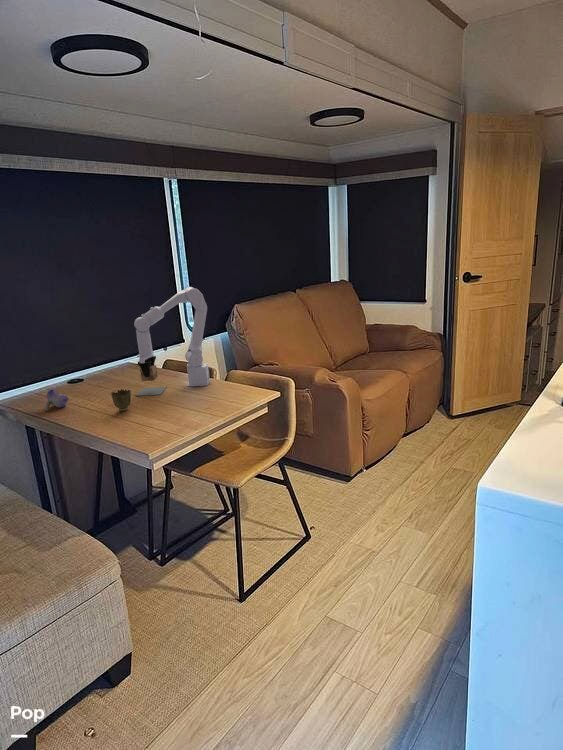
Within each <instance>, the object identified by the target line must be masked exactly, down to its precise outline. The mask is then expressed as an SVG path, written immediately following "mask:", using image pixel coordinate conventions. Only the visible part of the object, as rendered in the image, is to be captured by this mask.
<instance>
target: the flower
mask: <svg viewBox="0 0 563 750" xmlns="http://www.w3.org/2000/svg"><path fill="white" fill-rule="evenodd" d="M46 399H47V402H46V404H45V410H46V412H47V411H48V410H49V409H50V406H51V405H52V406H54V407H56V408H59V409H62V408H65V407H66V406H67V403H68V401H69V397H68V396H67V395H66V394H62V393H59V390H54V388H53V387H51V388H50V390H48V391H47V392H46ZM61 407H62V408H61ZM49 411H50V410H49Z"/></svg>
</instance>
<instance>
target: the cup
mask: <svg viewBox="0 0 563 750" xmlns="http://www.w3.org/2000/svg"><path fill="white" fill-rule="evenodd" d="M110 395H111V399H112V403H113V405H114V406H115V407H116V408H117V409H118V411H119V412H121V413H124V412H126V411H128V410H129V406H130V405H131V401H132V399H131V398H132V396H131V390H130V389H125V390H124V389H123V388H122V389H118V390H117V392H115V391H112V392H111V393H110Z"/></svg>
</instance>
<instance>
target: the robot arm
mask: <svg viewBox="0 0 563 750" xmlns="http://www.w3.org/2000/svg"><path fill="white" fill-rule="evenodd" d="M188 302H189V303H190V304H191V306H192V307H193V308H194V309H195V313H194V318H193V325H192V331H191V339H190V343H189V345H188V348H187V350H186V352H185V355H184V357H185V360H186V361H187V364H186V370H187V379H188V380H187V381H188V383H187V385H186V387H189V388H190V387H207V386H208V385H209V383H210V382H211V379H210V371H209V366H208V364H203V361H204V358H203V348H202V345H203V339H204V332H205V327H206V321H207V320H206V319H207V314H208V313H207V312H208V305H207V302H206V300H205V298H204V294H203V293H202V292H201V291H200V290H199V289H198V288H196V287H195V288H194V287H193V286H187V287H185V288H184V289H182V290H180V291H178V292H177V293H176V294H174V295H173V296H172V297H171V298H169V299H168V300H167V301H165V302H164V303H162V305H160V306H154V307H153V306H151V307H150V308H149V310H148V311H147V312H145V313H142V314H141V315H140V317H139V316H138V317H137V318H136V319H134V323H133V326H134V328H135V333H136V340H137V341H136V342H137V348H138V354H137V355H136V358H139V359H138V361H137V366H139V369H141V370H142V372H143V374H144V377H150V365H155V364H156V363H155V362H156V359H157V356H156V355H155V354H154V350H153V345H152V338H151V333H150V327H151V326H153V325H155V324H157V322H159V321H160V320H162V319H163V318H164V317H165V313H167V312H168V311H169V310H171V309H173V308H174V307H176V306H177V305H180V304H182V303H183V304H185V303H188Z"/></svg>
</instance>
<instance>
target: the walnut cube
mask: <svg viewBox="0 0 563 750" xmlns="http://www.w3.org/2000/svg"><path fill="white" fill-rule="evenodd" d="M139 370H140V378H141V382H147V381H148V382H149V381H151V382H153V381H155V380H156V379H158V377H159V376H158V368H157V365H156V364H154V365H150V377H144V374H143V372H142V370H141V368H139Z"/></svg>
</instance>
